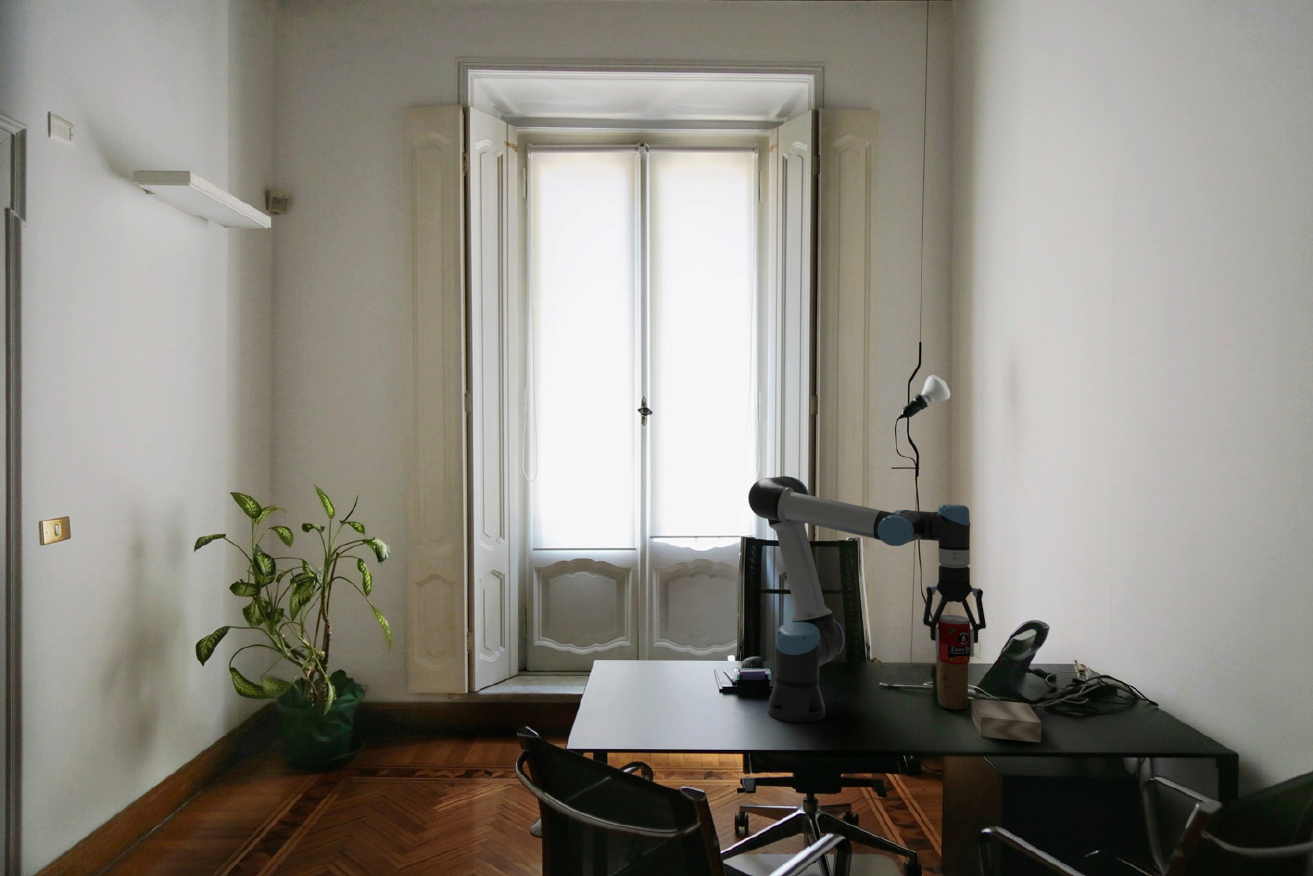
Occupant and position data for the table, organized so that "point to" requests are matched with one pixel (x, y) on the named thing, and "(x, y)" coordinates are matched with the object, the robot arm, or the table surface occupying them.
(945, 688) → the block
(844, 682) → the table surface
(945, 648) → the canned food
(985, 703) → the birch base block
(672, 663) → the table surface
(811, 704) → the robot arm
